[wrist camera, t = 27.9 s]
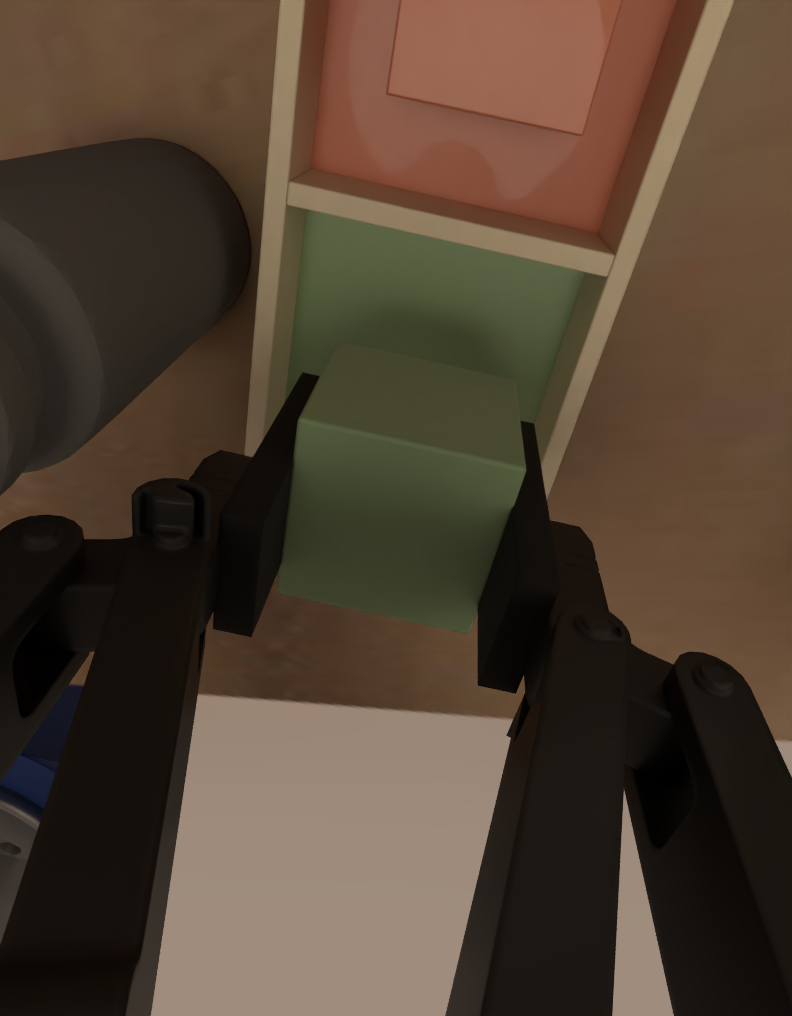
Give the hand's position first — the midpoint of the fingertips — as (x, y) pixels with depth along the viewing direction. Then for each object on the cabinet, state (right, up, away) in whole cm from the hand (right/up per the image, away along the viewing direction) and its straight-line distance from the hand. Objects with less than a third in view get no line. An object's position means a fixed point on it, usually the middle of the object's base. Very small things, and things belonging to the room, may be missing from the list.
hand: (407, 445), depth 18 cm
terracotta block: (+2, +11, 0) cm, 12 cm away
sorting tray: (+1, +8, +3) cm, 8 cm away
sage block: (0, 0, 0) cm, 0 cm away
